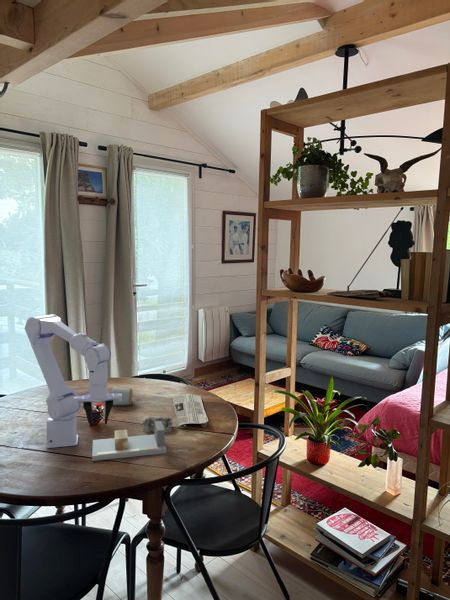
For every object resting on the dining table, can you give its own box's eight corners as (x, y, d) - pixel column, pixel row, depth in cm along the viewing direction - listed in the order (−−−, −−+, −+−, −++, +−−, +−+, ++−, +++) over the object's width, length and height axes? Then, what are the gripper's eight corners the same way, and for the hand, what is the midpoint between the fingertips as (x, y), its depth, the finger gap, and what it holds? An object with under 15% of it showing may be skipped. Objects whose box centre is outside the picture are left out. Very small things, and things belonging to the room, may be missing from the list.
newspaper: (172, 399, 195) (172, 391, 195) (199, 398, 197) (199, 390, 197) (179, 431, 161) (179, 422, 160) (212, 429, 163) (212, 420, 163)
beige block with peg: (115, 452, 138) (115, 441, 138) (114, 440, 147) (114, 430, 146) (128, 451, 139) (128, 440, 139) (126, 439, 148) (126, 429, 147)
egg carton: (141, 433, 158) (141, 422, 158) (145, 424, 166) (145, 414, 165) (170, 433, 158) (170, 422, 157) (174, 425, 165) (173, 415, 165)
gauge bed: (92, 460, 136) (91, 439, 135) (92, 444, 147) (92, 424, 147) (166, 453, 142) (166, 432, 141) (161, 437, 154) (161, 418, 153)
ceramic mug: (131, 407, 183) (131, 389, 182) (110, 408, 182) (110, 389, 181) (133, 399, 193) (133, 382, 192) (114, 399, 192) (114, 382, 192)
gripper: (73, 387, 134) (74, 430, 135) (122, 384, 138) (122, 426, 139) (74, 381, 141) (75, 422, 142) (121, 378, 145) (121, 418, 146)
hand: (98, 423), depth 141 cm, fingers open, 4 cm apart
